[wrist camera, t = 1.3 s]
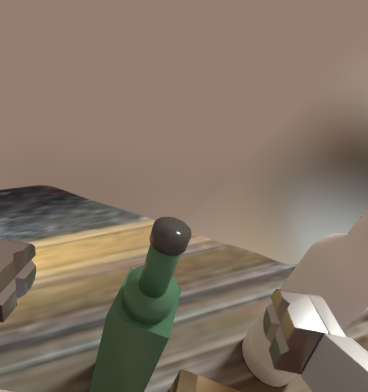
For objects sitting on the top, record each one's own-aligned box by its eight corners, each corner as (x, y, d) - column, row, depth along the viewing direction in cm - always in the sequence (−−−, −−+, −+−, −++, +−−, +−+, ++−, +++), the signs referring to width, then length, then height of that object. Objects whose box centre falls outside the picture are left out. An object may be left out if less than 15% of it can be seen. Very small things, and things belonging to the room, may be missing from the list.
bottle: (249, 387, 36) (410, 206, 21) (235, 329, 42) (349, 160, 27) (301, 389, 38) (486, 224, 22) (280, 333, 44) (411, 177, 29)
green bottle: (86, 401, 30) (124, 238, 17) (107, 355, 34) (149, 199, 22) (131, 418, 30) (202, 267, 17) (145, 369, 34) (210, 221, 22)
